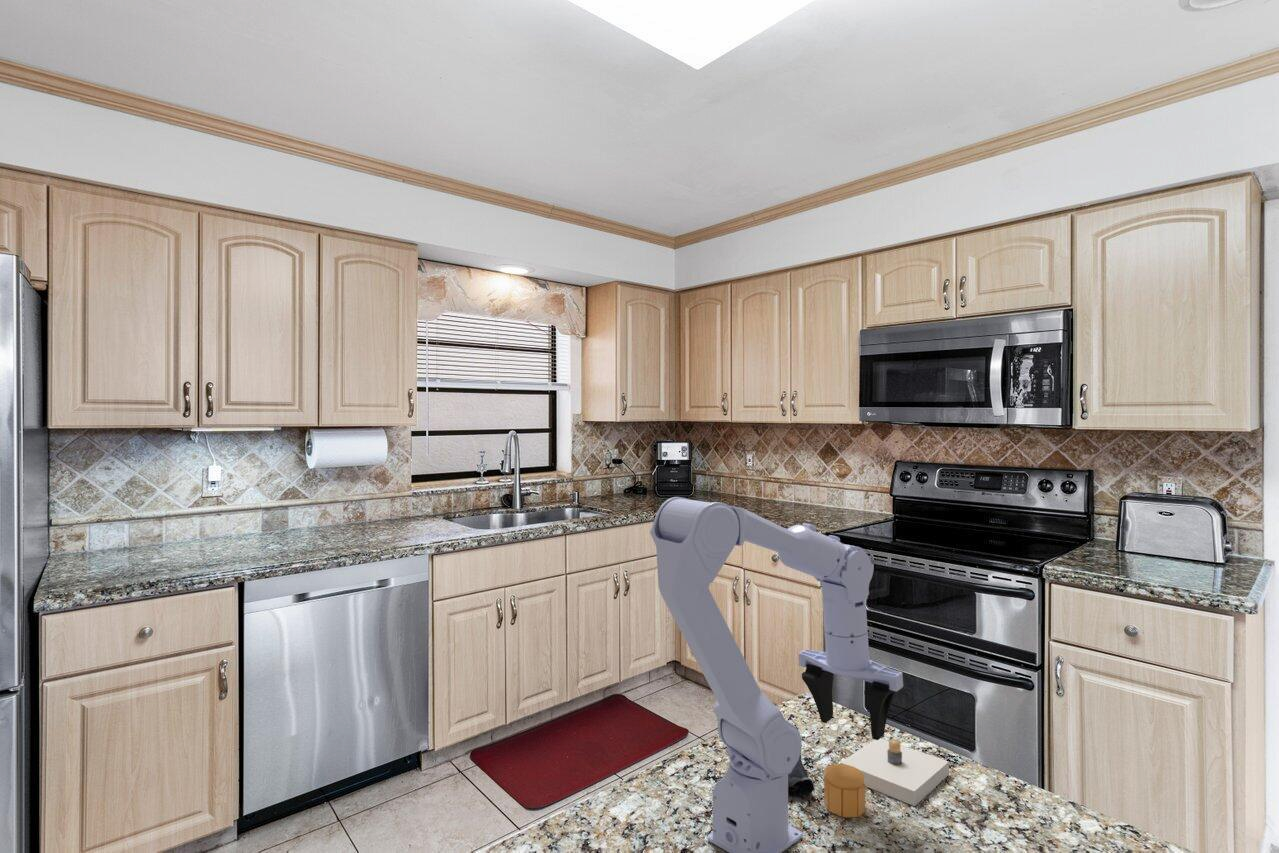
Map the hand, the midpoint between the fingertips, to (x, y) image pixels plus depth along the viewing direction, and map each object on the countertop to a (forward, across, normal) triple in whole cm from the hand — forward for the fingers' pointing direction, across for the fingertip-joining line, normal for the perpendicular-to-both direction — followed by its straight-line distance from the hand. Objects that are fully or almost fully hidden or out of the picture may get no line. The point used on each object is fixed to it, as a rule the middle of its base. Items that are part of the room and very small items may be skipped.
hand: (851, 728), depth 89 cm
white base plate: (+11, -1, -10) cm, 15 cm away
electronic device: (+10, +12, +2) cm, 16 cm away
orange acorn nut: (+10, 0, +3) cm, 10 cm away
